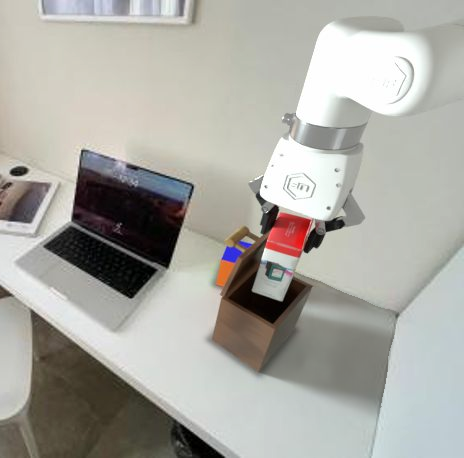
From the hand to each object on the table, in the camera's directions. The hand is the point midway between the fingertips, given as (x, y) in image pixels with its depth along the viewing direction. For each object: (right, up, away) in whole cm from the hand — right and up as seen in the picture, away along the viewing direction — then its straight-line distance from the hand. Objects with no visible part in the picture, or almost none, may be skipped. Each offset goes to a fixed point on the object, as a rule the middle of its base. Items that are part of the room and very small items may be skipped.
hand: (287, 238), depth 56 cm
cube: (+6, -10, +28) cm, 30 cm away
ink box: (+1, -8, +6) cm, 10 cm away
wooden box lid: (-2, -4, +7) cm, 8 cm away
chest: (+3, -20, +16) cm, 26 cm away
